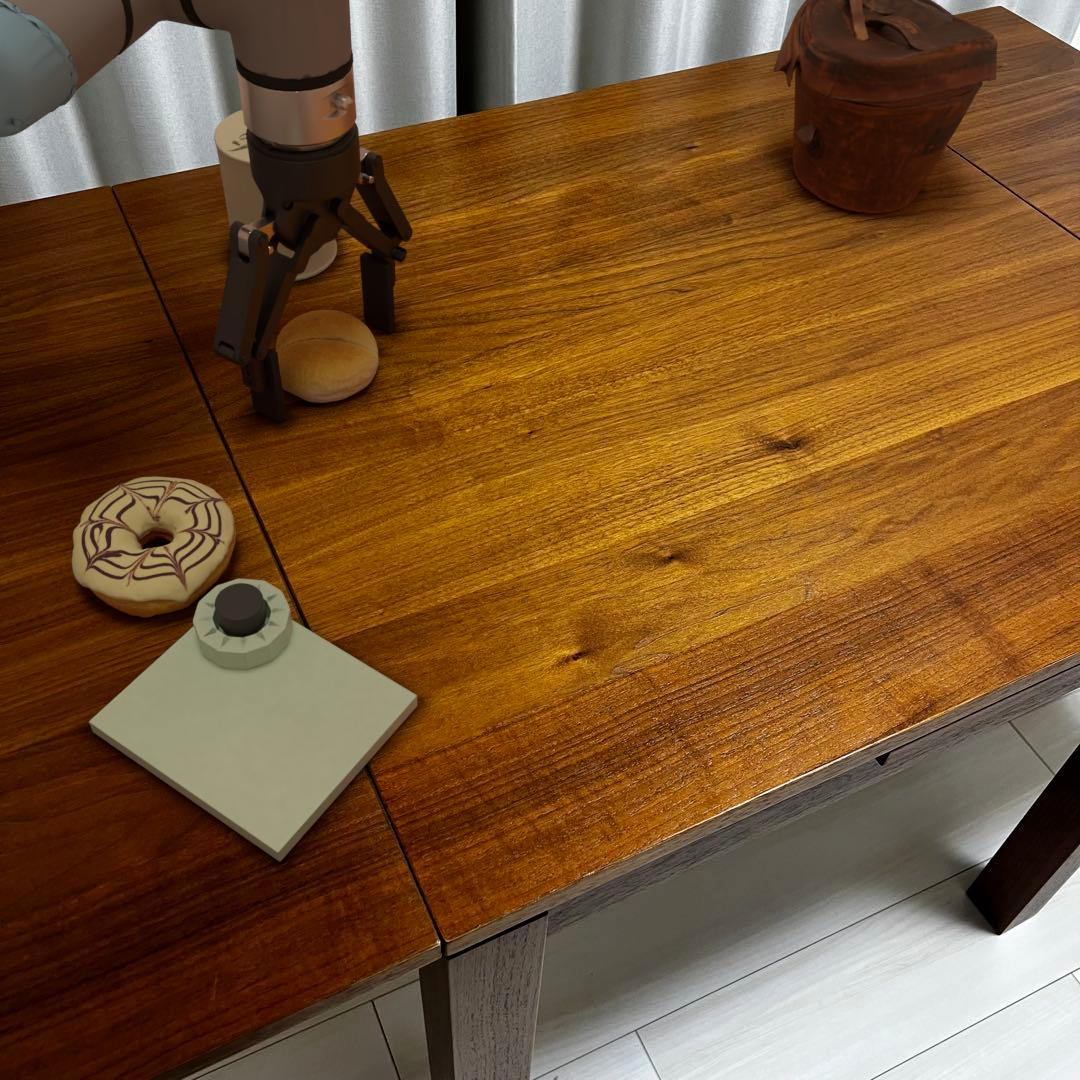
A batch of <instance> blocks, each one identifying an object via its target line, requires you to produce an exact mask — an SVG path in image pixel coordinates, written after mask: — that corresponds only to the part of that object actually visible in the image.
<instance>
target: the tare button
mask: <svg viewBox="0 0 1080 1080" xmlns="http://www.w3.org/2000/svg"><path fill="white" fill-rule="evenodd" d="M215 610H216V614H217V618H218V623H219V626H220V627H221V629H222V630H223V631H224V632H226V633H227V634H229V635H232V636H237V637H242V636H248V635H251V634H253V633H255V632H257V631H258V630H259V629H260V628H261V627H262V626H263V625H264V623H265V620H266V610H265V604H264V599H263V595H262V593H261V591H260V590H259V589H258V588H256V587H255V586H253V585H250V584H246V583H237V584H233V585H230V586H228V587H226V588H224V589H223V590H222V591H221V592H220V593H219V594H218V595H217V597H216V599H215Z"/></svg>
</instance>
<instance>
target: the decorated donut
mask: <svg viewBox="0 0 1080 1080" xmlns="http://www.w3.org/2000/svg"><path fill="white" fill-rule="evenodd" d="M231 509H232V508H230V507H229V506H228V504H227V503H226V501H225V499H224V498H223V497H222V496H221V495H220V494H219V493H218V492H217V491H216V490H215V489H214V488H212V487H210V486H208V485H206V484H204V483H200V482H198V481H196V480H193V479H189V478H181V477H180V478H179V477H169V476H167V477H166V476H143V477H136V478H133V479H132V480H129V481H127V482H124V483H120V484H118V485H117V486H115V487H114V488H111V489H110V490H108V491H107V492H104V494H103V495H102V496H100V497H99V498H98V499H96V500H95V501H93V502H91V503H90V504H89V505H88V506H86V507H85V509H84V510H83V512H82V514H81V515H80V523H78V525H77V526H76V527H75V528H74V530H73V532H72V542H73V549H72V558H71V567H72V573H73V576H74V579H75V580H76V581H77V583H79V584H80V585H81V586H82V587H84V588H88V589H89V590H90V591H91V592H92V593H93V594H94V596H96V597H97V598H99V599H100V600H102V601H103V602H104V603H105V604H107V605H108V606H110V607H112V608H114V609H116V610H118V611H120V612H122V613H125V614H127V615H130V616H132V617H140V618H144V619H146V618H151V617H154V616H155V615H163V614H170V613H173V612H176V611H181V610H185V608H188V607H190V606H191V605H192V604H193V603H195V602H196V601H197V600H198V599H199V598H200V597H201V596H202V595H205V594H206V592H207V591H208V590H209V589H210V588H211V587H213V585H214V584H215V583H216V582H217V581H218V580H219V579H220V577H221V576H222V575H223V573H224V572H225V571H226V570H227V568H228V567H229V565H230V561H231V558H232V557H233V552H234V548H235V544H236V537H237V527H236V522H235V519H234V514H233V512H232V510H231ZM156 539H166V540H167V541H169V542H170V543H168V544H165V545H161V546H156V547H147V548H145V549H143V548H144V546H145V545H146V544H148V543H151V542H153V541H154V540H156Z"/></svg>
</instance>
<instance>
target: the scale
mask: <svg viewBox="0 0 1080 1080" xmlns="http://www.w3.org/2000/svg"><path fill="white" fill-rule="evenodd" d="M237 583H246V584H250V585H253V586H255V587H256V588H258V589H259V590H260V591H261V593H262V595H263V599H264V604H265V610H266V620H265V623H264V625H263V626H262V627H261V628H260V629H259V630H258V631H257V632H255V633H253V634H251V635H248V636H242V637H237V636H232V635H229V634H227V633H226V632H224V631H223V630H222V629H221V627H220V626H219V623H218V618H217V614H216V610H215V599H216V597H217V595H218V594H219V593H220V592H221V591H222V590H223V589H224V588H226V587H228V586H230V585H233V584H237ZM291 610H292V609H291V607H290V605H289V603H288V601H287V598H286V596H285V594H284V592H283V591H282V590H281V589H279V588H278V587H276V586H274V585H272V584H271V583H269V582H268V581H266V580H262V579H252V578H241V577H240V578H239V577H238V578H235V579H233V580H229V581H227V582H226V581H225V582H224V583H220V584H217V585H215V586H214V587H213V588H212V589H211V590H210V591H209V592H208V593H207V594H205V595H204V596H203V597H202V598H201V599H199V601H198V602H197V606H196V609H195V612H194V615H193V618H192V625H193V626H192V627H191V628H190V629H188V631H187V632H186V633H184V634H183V635H182V636H181V637H179V639H178V640H176V642H174V643H173V644H172V645H171V646H170V647H168V649H167V650H165V652H164V653H162V654H161V655H160V656H159V657H158V658H157V659H155V661H154V662H153V663H151V664H150V665H149V666H147V668H146V669H145V670H144V671H143V672H141V673H140V674H139V675H138V676H137V677H135V679H134V680H133V681H132V682H130V683H129V684H128V685H127V686H126V687H125V688H124V689H123V690H122V691H121V692H119V693H118V694H117V695H116V696H115V697H114V698H113V699H111V701H109V702H108V703H107V704H106V705H105V706H103V708H102V709H101V710H100V711H98V712H97V713H96V714H95V715H94V716H93V717H92V718H91V719H90V720H89V721H88V724H89V726H90V728H91V731H92V733H94V735H96V736H98V737H99V738H101V739H102V740H104V741H105V742H107V743H108V744H109V745H110V746H112V747H114V748H115V749H116V750H118V751H120V752H121V753H122V754H124V755H125V756H126V757H128V758H130V759H131V761H134V762H135V763H137V764H138V765H139V766H141V767H142V768H144V769H145V770H147V771H148V772H149V773H151V774H153V775H154V776H155V777H157V778H159V779H160V780H161V781H163V782H164V783H165V784H167V785H169V787H171V788H173V789H174V790H175V791H176V792H178V793H179V794H181V795H182V796H184V797H186V798H187V799H189V800H190V801H191V802H193V803H194V804H196V805H197V806H198V807H200V808H202V809H203V810H204V811H206V812H207V813H208V814H210V815H211V816H213V817H215V818H216V819H217V820H219V821H221V823H223V824H224V825H226V826H227V827H229V828H230V829H232V830H233V831H234V832H236V833H237V834H239V835H241V836H242V837H243V838H244V839H246V840H247V841H248V842H250V843H252V844H253V845H255V846H256V847H257V848H259V849H261V850H262V851H263V852H265V853H266V854H268V855H269V856H271V857H272V858H273V859H275V860H276V861H277V862H280V863H281V862H282V861H283V860H284V859H285V857H286V856H287V855H288V854H289V853H290V851H291V850H293V848H294V847H295V846H296V845H297V843H298V842H299V841H300V840H301V839H302V838H303V836H305V835H306V833H307V832H308V831H309V830H310V829H311V827H312V826H313V825H314V824H315V823H316V822H317V821H318V820H319V819H320V818H321V816H323V814H324V813H325V812H326V810H327V809H328V808H329V807H330V806H331V805H332V804H333V803H334V802H335V800H337V798H338V797H339V796H340V795H341V794H342V792H343V791H344V790H345V789H346V788H347V787H348V785H349V784H351V782H352V781H353V780H354V779H355V778H356V776H357V775H359V773H360V772H361V771H362V770H363V769H364V767H365V766H366V765H367V764H368V763H369V762H370V761H371V759H372V758H373V757H374V756H375V755H376V754H377V753H378V751H379V750H380V749H381V748H382V747H383V746H384V745H385V744H386V742H387V741H388V740H389V739H390V738H391V737H392V735H393V734H394V733H395V732H396V731H397V730H398V729H399V728H400V726H402V725H403V723H404V722H405V721H406V720H407V719H408V717H409V716H410V715H411V714H412V713H413V711H415V709H416V708H417V707H418V695H417V694H416V693H414V692H412V691H410V690H409V689H407V688H406V687H404V686H403V685H401V684H399V683H397V681H395V680H393V679H391V678H389V677H388V676H386V675H385V674H383V673H381V672H380V671H378V670H376V669H375V668H373V667H371V666H369V665H368V664H366V663H365V662H363V661H361V660H359V659H357V658H356V657H355V656H353V655H351V654H350V653H348V652H346V651H344V650H343V649H341V648H339V647H338V646H336V645H335V644H333V643H331V642H330V641H328V640H326V639H325V638H323V637H321V635H318V634H316V633H315V632H313V631H311V630H310V629H308V628H306V627H305V626H303V625H302V624H300V623H298V622H297V621H296V620H293V618H292V617H293V616H292V611H291Z"/></svg>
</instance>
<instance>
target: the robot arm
mask: <svg viewBox="0 0 1080 1080" xmlns="http://www.w3.org/2000/svg"><path fill="white" fill-rule="evenodd" d="M350 7H351V3H350V0H0V138H7V137H12V136H16V135H18V134H20V133H22V132H24V131H26V130H28V128H30V127H31V126H33V125H35V123H37V122H38V121H40V120H41V119H43V118H45V117H46V116H47V115H49V114H50V113H53V112H55V111H56V110H57V109H58V108H60V107H62V106H63V107H64V106H66V105H67V104H68V103H69V102H70V101H71V100H72V98H73V97H74V95H76V92H77V91H78V90H79V89H80V88H81V87H82V86H84V85H85V84H86V83H87V82H89V81H90V80H91V79H92V78H93V77H94V76H95V75H96V74H98V73H99V72H101V70H102V69H104V68H105V67H106V66H107V65H108V64H110V63H111V62H112V61H113V60H115V59H116V58H117V57H118V56H120V55H122V54H123V53H124V52H125V51H126V50H128V49H129V48H130V47H131V46H133V44H135V43H136V42H137V41H138V40H140V39H141V38H142V37H143V36H144V35H146V34H147V32H149V31H151V30H152V28H153V27H155V26H156V25H157V24H158V23H160V22H165V21H166V22H167V21H168V22H171V23H178V24H181V25H185V26H192V27H197V28H201V29H207V30H211V31H214V30H215V31H216V30H218V31H224V32H227V33H228V34H229V35H230V40H231V45H232V48H233V54H234V58H235V59H234V61H235V67H236V73H237V81H238V89H239V94H240V95H239V97H240V103H241V110H242V111H243V118H244V124H245V126H246V127H247V130H246V139H247V146H248V153H249V160H250V167H251V173H252V177H253V179H254V181H255V183H256V185H257V187H258V188H259V190H260V192H261V194H262V197H263V209H262V213H261V219H259V220H257V221H255V222H253V223H251V224H249V225H247V224H244V223H242V222H240V221H235V222H233V223H232V225H231V227H230V226H229V232H228V233H229V247H230V248H229V249H230V257H229V262H228V267H227V273H226V278H225V283H224V288H223V293H222V299H221V305H220V309H219V314H218V320H217V324H216V329H215V335H214V340H213V345H212V352H213V353H214V354H215V355H217V356H218V357H220V358H222V359H224V360H226V361H228V362H230V363H232V364H234V365H236V366H238V367H239V368H240V372H241V373H240V374H241V378H242V383H243V384H244V386H245V387H247V388H249V390H250V394H251V395H250V396H251V402H252V407H253V408H252V409H253V410H255V411H257V412H258V413H261V414H262V415H265V416H266V417H268V418H270V419H272V420H274V421H275V422H278V423H280V424H281V423H282V422H284V420H286V419H287V417H288V416H287V411H286V403H285V397H284V389H283V388H282V382H281V375H280V368H279V361H278V354H277V352H276V350H274V349H273V348H271V345H272V343H273V341H274V338H275V335H276V332H277V329H278V327H279V324H280V322H281V319H282V316H283V313H284V311H285V308H286V306H287V302H288V300H289V298H290V295H291V292H292V290H293V287H294V284H295V282H296V281H295V279H296V277H297V275H298V274H301V273H303V272H304V271H305V269H306V267H307V264H308V262H309V259H310V256H312V255H313V254H314V253H316V252H317V251H318V250H319V249H320V248H321V247H322V246H323V245H324V244H325V243H328V242H331V241H333V240H334V239H335V240H336V239H337V238H339V232H340V231H341V230H343V231H344V232H345V233H347V235H349V236H350V237H352V238H354V239H355V240H356V241H357V242H359V243H360V244H361V245H363V246H364V247H365V248H367V249H369V251H370V252H368V251H364V252H362V253H361V254H360V255H359V265H360V278H361V293H362V307H363V320H364V322H367V323H369V324H370V325H373V326H375V327H377V328H379V329H381V330H383V331H385V332H388V333H391V332H394V330H395V329H396V311H395V310H396V309H395V291H394V288H395V286H396V282H397V279H396V278H397V276H396V262H397V263H399V264H402V263H403V262H405V260H406V258H407V255H408V251H407V249H406V248H405V247H403V246H400V245H401V243H402V242H404V243H408V242H409V241H410V240H411V238H413V232H414V231H413V230H414V229H413V228H412V226H411V224H410V222H409V220H408V218H407V216H406V215H405V213H404V211H403V209H402V207H401V205H400V204H399V202H398V199H397V197H396V196H395V193H394V192H393V190H392V188H391V186H390V184H389V182H388V181H387V178H386V175H385V169H384V160H383V156H382V155H381V154H379V153H376V152H374V151H372V150H369V149H367V148H366V147H365V148H364V147H362V146H361V145H360V134H359V133H360V132H359V126H358V125H357V123H356V121H357V118H358V115H357V103H356V90H355V77H354V76H355V75H354V74H355V73H354V53H353V47H352V46H353V44H352V43H353V42H352V27H351V26H352V24H351V8H350ZM355 189H356V191H357V192H358V194H359V196H360V198H361V199H362V202H364V204H365V206H366V208H367V210H368V211H369V213H370V215H371V216H372V218H373V220H374V222H375V224H376V225H377V226H375V225H374V224H372V223H371V222H370V221H369V220H367V219H366V216H365V215H363V213H361V212H360V211H359V210H358V209H356V208H355V207H354V206H353V205H352V204H351V201H352V198H353V195H354V192H355ZM377 227H378V228H377ZM279 242H280V243H281V244H282V245H283V246H284V247H286V248H287V249H290V250H292V251H294V252H295V253H294V256H293V257H292V258H290V257H288V256H286V255H283V254H281V253H279V252H278V250H277V246H278V244H279Z"/></svg>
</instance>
